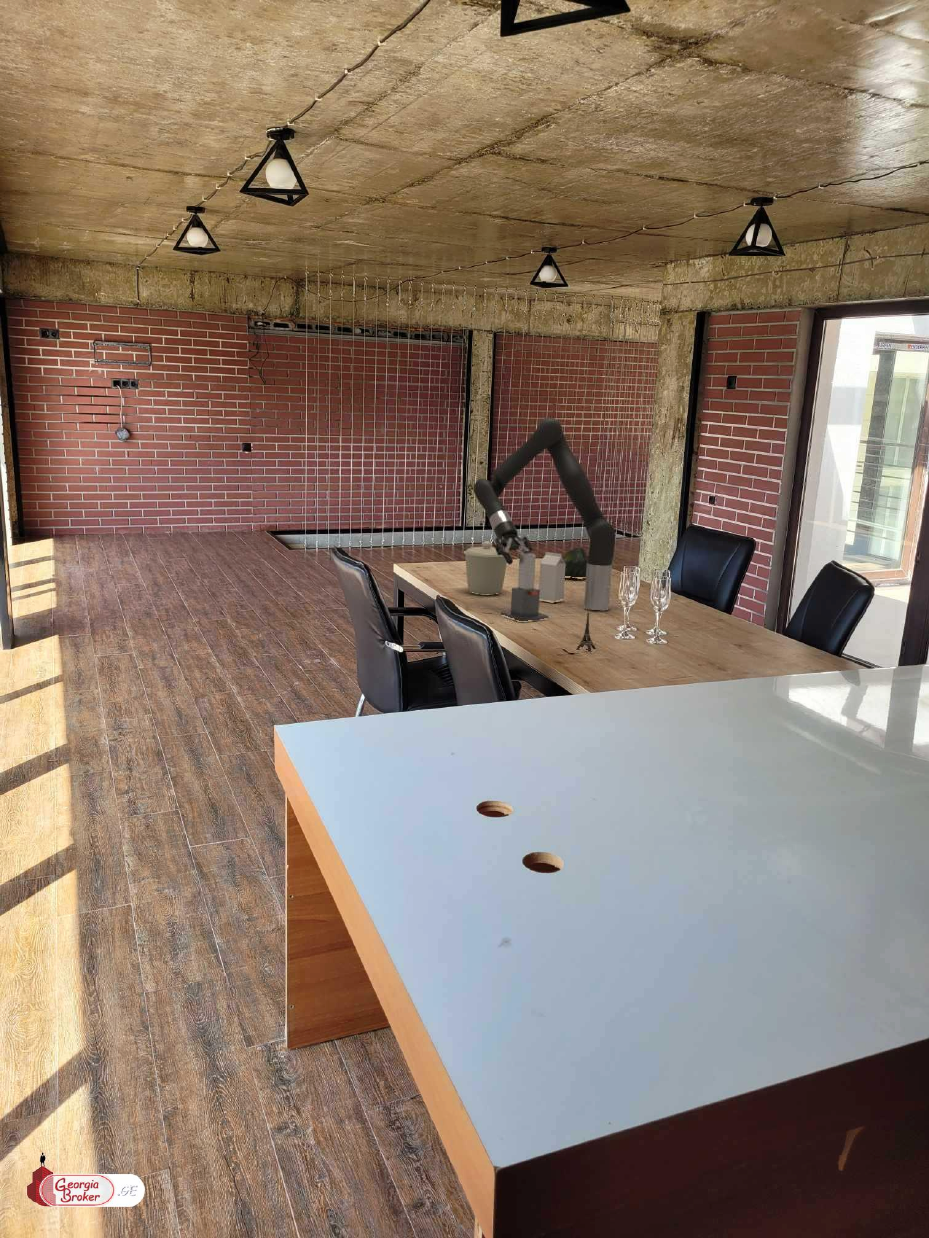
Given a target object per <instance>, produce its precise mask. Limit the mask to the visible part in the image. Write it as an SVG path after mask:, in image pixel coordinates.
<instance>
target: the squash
mask: <svg viewBox="0 0 929 1238" xmlns="http://www.w3.org/2000/svg"><path fill="white" fill-rule="evenodd" d="M587 557H588V554H587V552H586V551H585V549H584V548H583V547H576V548H574V549H572V550H569V551H566V552H565V553H563V554H562V558H563V560H564V562H565V563H566V565H565V576H571V577H586V571H587Z"/></svg>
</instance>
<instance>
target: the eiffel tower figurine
mask: <svg viewBox="0 0 929 1238" xmlns="http://www.w3.org/2000/svg"><path fill="white" fill-rule="evenodd" d="M586 616H587V617H586V624H585V629H584V630H585V631H584V633H583V637H582V640H580V643H579V644H578V645H579V646H578V647H577V649H576V650H580V649H579V648H580V647H583V646H584V645H586V646H587V647H588V649H586V650H588V652H592V651H591V648H593V649H597V648H595V646H594V645H595V644H594V643H593V640H592V639H591V635H590V634H591V633H590V610H589V609H588V610H587V613H586ZM591 646H592V647H591ZM567 653H568V654H569V652H567Z"/></svg>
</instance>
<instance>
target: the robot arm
mask: <svg viewBox="0 0 929 1238" xmlns="http://www.w3.org/2000/svg"><path fill="white" fill-rule="evenodd" d="M545 450H547V452H548V454H549V455H550V457H551V459H552V461H553V464H554V467H555V470H556V472H557V473H556V474H557V475H558V478H559V480H560V482H561V484H562V487H563V488H564V490H565V493H566V495H567V496H568V498H569V499H570V502H571V503H572V504H573V506H574V508H575V509H576V510H577V512H578V513H579V515H580V517H581V520H582V522H583V524H584V528H585V530H586V533H587V535H588V538H589V547H588V548H589V550H588V554H587V555H588V557H587V571H586V578H585V586H584V587H585V591H584V601H583V608H584V607H585V608H589V609H592V610H608V609H609V610H610V600H611V585H612V584H611V581H612V568H613V567H612V566H613V560H614V556H615V546H616V545H615V544H616V529H615V527H614V526H613V525H612V524H611V523H610V522H609V521H608V520H607V518H606V516H604V514H603V512H602V510H601V509H600V507H599V505H598V503H597V500H596V497H595V492H594V489H593V487H592V485H591V482H590V480H589V478H588V476H587V473H586V472H585V470H584V469H583V467H582V465H581V464H580V462H579V460H578V459H577V457H576V455H574V453H573V451H572V450H571V448H570V446H569V443H568V441H567V439H566V437H565V434H564V431H563V427H562V424H561V422H560V421H559V420H558V419H556V418H553V417H545V418H543V419H542V420H540V421H539V422H538V424H537V426H536V429H535V431H534V432H533V433H532V435H531V436H530V437H529V438H528V439H527V440H526V441H525V442H524V443H523V444H522V445H521V446H520V447H518V449H516V450H515V451H514V452H512V453H511V454H510V455H508V456H507V457H506V458H505V459H504V460H503V461H502V462H501V463H500V464H499V465H498V466H496V468H495V469H494V470H493V473H492V474H493V476H494V477H493V478H492V479H491V481H490V480H489V479H486V478H480V479H477V480H476V481H475V482H474V485H473V493H474V495H475V497H476V499H477V500H478V502H479V504H480V505H481V506H482V508H483V509H484V512H485V514H486V516H487V518H488V520H489V523H490V526H491V528H492V531H493V532H494V535H495V536H496V538H495V539H494V540H493V542H492V545H493V546H494V547H493V548H495V549H496V552H497V554H498V555H502V556H503V557H504V558H505V560H506V562H507V565H512V563H513V562H514V561H513V558H512V556H511V553H510V552H511V551H517V552H518V553H532V551H533V550H534V549H533V546H532V545H531V543H530V541H529V539H528V538H527V537H526V536H523V537H519V536H518V530H517V528H516V526H515V524H514V522H513V519H512V518H511V517H510V514H509V513H508V511H507V510H506V509H507V508H506V507H505V506H504V503H503V501H502V500H500V499H499V497H500V496H501V495H502V493H503V492H504V490H505V488H506V487H507V485H508V484H509V483H510V482H511V481H512V480H513V479H515V477H516V476H518V474H519V473H521V472H522V471H523V470H524V468H525V467H527V466H528V465H529V463H531V462H532V460H534V458H536V457H537V456H538V455H540V453H542V452H543V451H545ZM585 608H584V609H585ZM609 610H608V611H609Z"/></svg>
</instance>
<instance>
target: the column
mask: <svg viewBox="0 0 929 1238" xmlns="http://www.w3.org/2000/svg"><path fill="white" fill-rule="evenodd" d="M536 558H537V557H536V554H535V553H532V552H530V553H521V552H519V558H518V559H519V560H518V577H517V578H518V580H517V587H518V589H521V590H524V591H525V590H534V588H535V576H536V575H535V574H536V573H535V572H536Z"/></svg>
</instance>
